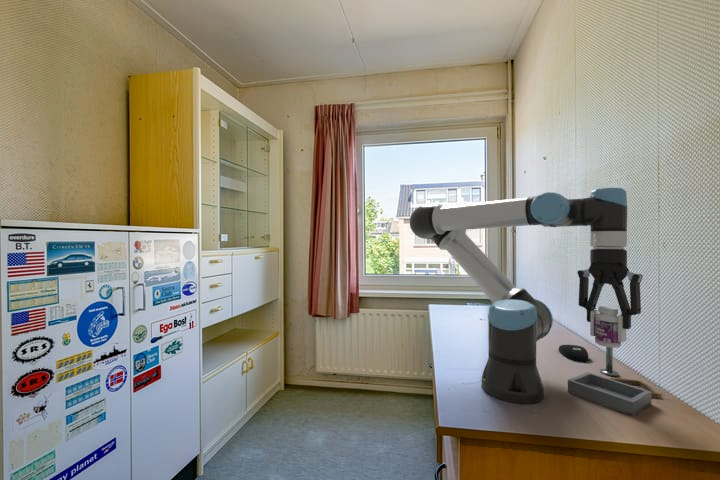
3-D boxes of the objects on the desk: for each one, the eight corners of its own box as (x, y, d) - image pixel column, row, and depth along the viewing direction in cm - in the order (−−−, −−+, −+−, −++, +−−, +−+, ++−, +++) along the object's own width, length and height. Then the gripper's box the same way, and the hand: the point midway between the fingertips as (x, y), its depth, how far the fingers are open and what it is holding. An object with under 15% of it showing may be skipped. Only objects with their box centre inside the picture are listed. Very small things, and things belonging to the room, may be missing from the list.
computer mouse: (568, 362, 109) (569, 350, 109) (556, 350, 120) (556, 340, 120) (594, 364, 107) (594, 352, 107) (579, 352, 118) (579, 341, 118)
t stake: (614, 377, 95) (614, 333, 95) (590, 370, 101) (590, 328, 101) (621, 374, 97) (621, 331, 98) (597, 367, 103) (597, 326, 103)
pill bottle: (590, 342, 84) (590, 306, 84) (603, 341, 86) (603, 305, 86) (612, 349, 79) (612, 310, 79) (626, 347, 81) (626, 308, 81)
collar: (661, 398, 83) (661, 394, 83) (622, 394, 85) (622, 390, 85) (641, 384, 91) (641, 380, 91) (606, 380, 93) (606, 377, 93)
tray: (632, 416, 74) (632, 402, 74) (567, 391, 86) (567, 380, 86) (651, 404, 79) (651, 391, 79) (587, 382, 91) (587, 372, 91)
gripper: (660, 249, 77) (660, 345, 77) (576, 247, 93) (576, 328, 93) (648, 248, 73) (648, 350, 73) (563, 247, 89) (562, 331, 89)
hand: (607, 337), depth 83 cm, fingers closed on pill bottle, 5 cm apart
